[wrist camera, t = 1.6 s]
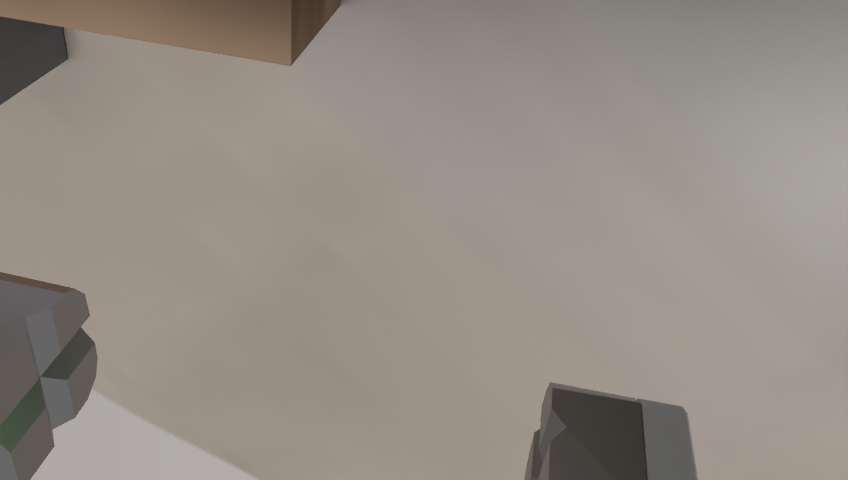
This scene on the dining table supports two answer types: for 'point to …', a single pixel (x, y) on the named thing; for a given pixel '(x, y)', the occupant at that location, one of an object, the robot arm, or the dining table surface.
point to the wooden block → (191, 22)
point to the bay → (27, 53)
